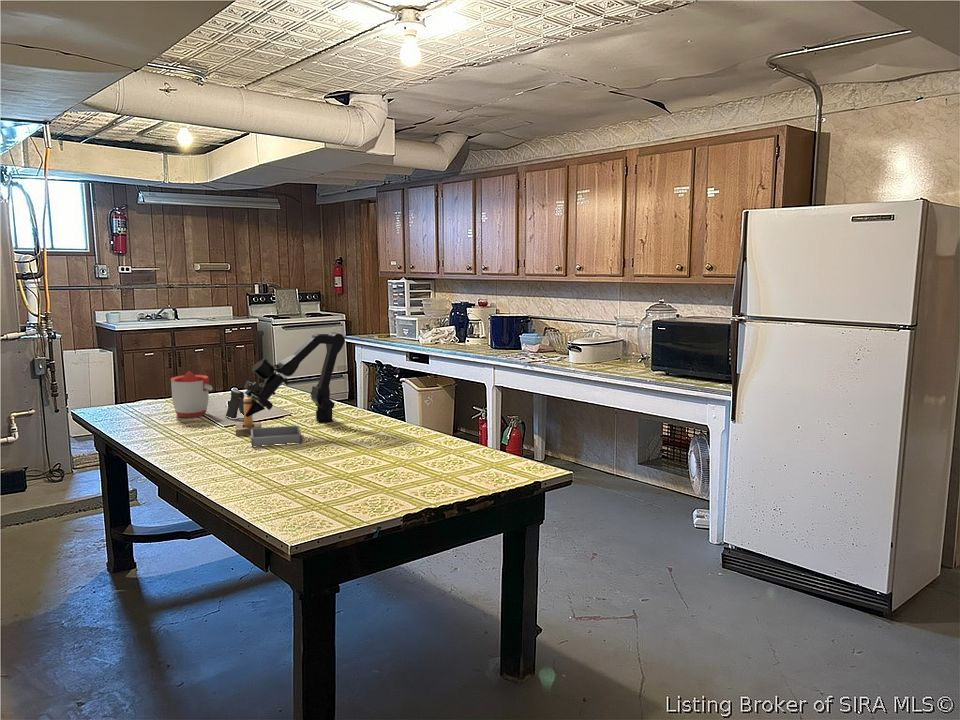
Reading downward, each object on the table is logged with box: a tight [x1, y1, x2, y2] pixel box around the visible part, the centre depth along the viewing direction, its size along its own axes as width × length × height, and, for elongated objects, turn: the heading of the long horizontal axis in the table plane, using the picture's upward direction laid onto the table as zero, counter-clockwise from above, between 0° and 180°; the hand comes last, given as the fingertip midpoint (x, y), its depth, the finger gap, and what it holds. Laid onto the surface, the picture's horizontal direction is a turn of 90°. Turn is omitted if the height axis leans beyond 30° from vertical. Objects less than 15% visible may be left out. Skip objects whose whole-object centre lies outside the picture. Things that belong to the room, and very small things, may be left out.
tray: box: [250, 425, 303, 448], centre depth 272 cm, size 19×15×4 cm
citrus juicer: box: [170, 371, 214, 418], centre depth 308 cm, size 16×17×20 cm
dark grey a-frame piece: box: [225, 389, 245, 418], centre depth 306 cm, size 9×6×12 cm, turn 138°
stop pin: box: [243, 397, 253, 427], centre depth 283 cm, size 3×3×14 cm
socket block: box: [235, 421, 263, 437], centre depth 284 cm, size 10×10×2 cm
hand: (244, 415), depth 282 cm, fingers closed on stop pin, 3 cm apart
